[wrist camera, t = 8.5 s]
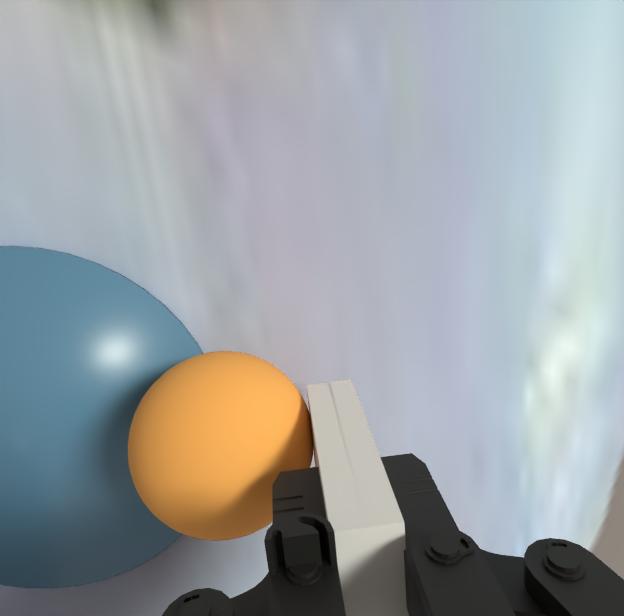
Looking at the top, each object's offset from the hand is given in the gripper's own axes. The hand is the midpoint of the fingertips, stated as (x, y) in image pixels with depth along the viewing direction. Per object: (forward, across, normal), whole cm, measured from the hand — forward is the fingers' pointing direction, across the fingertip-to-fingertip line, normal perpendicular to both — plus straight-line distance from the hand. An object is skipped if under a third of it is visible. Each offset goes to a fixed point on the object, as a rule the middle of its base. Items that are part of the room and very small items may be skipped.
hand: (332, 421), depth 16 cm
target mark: (+2, +10, 0) cm, 10 cm away
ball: (0, +3, 0) cm, 3 cm away
